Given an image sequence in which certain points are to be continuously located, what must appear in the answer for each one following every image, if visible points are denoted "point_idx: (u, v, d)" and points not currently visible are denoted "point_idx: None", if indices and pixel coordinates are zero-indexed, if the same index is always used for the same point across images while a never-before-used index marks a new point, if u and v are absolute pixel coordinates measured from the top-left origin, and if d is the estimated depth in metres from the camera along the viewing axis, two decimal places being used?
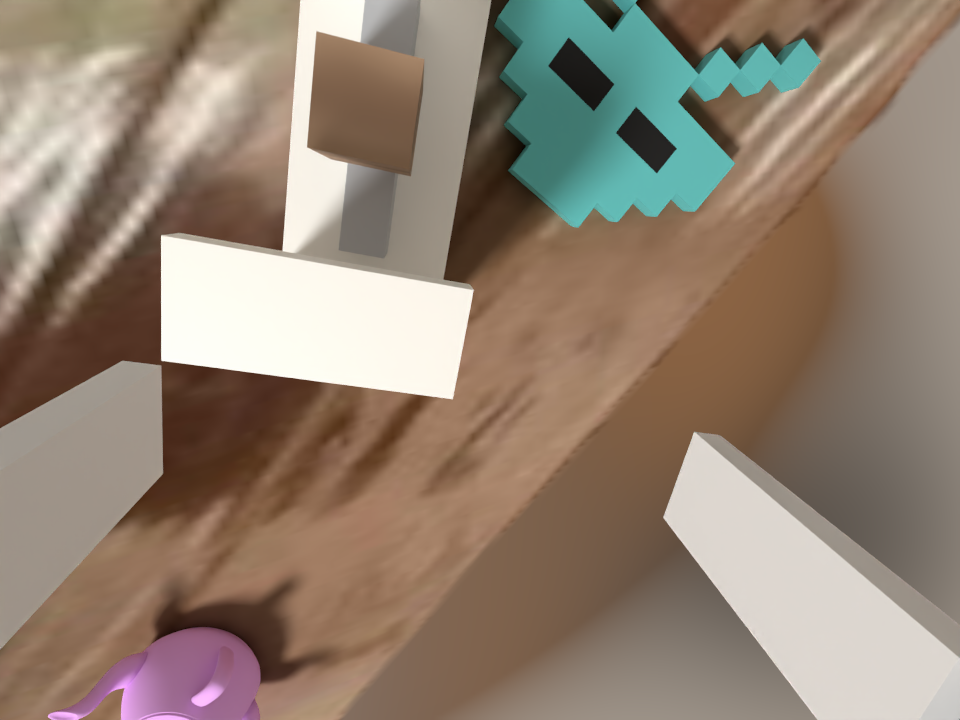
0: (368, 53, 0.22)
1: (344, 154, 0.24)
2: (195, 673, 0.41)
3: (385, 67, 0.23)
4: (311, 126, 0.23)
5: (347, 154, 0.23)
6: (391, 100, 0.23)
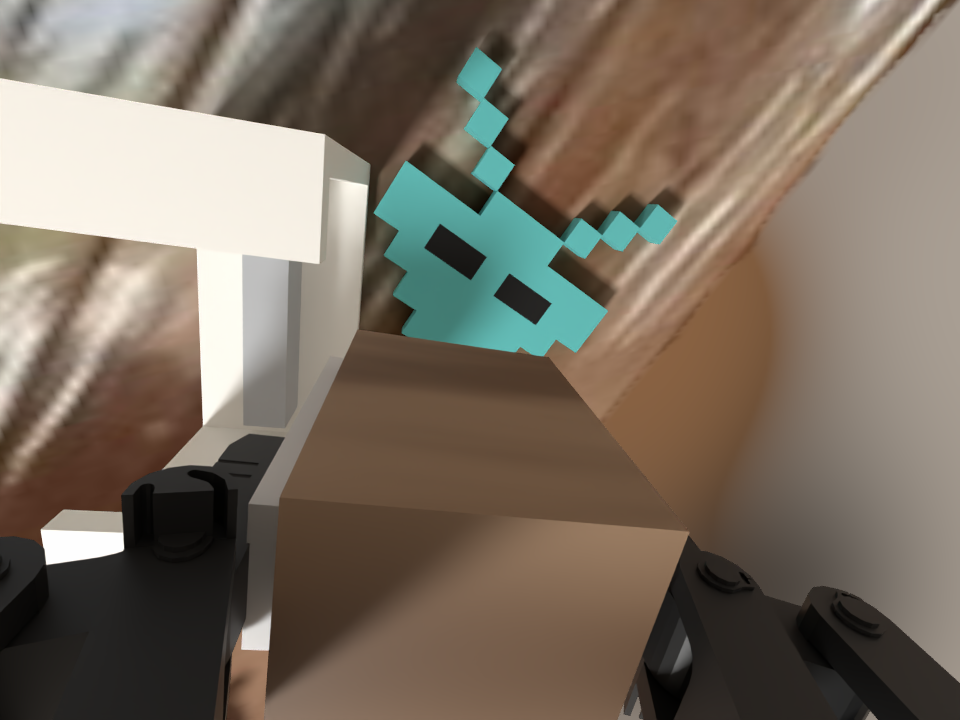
0: (487, 540, 0.06)
1: None
2: None
3: (547, 570, 0.06)
4: None
5: None
6: (557, 651, 0.06)
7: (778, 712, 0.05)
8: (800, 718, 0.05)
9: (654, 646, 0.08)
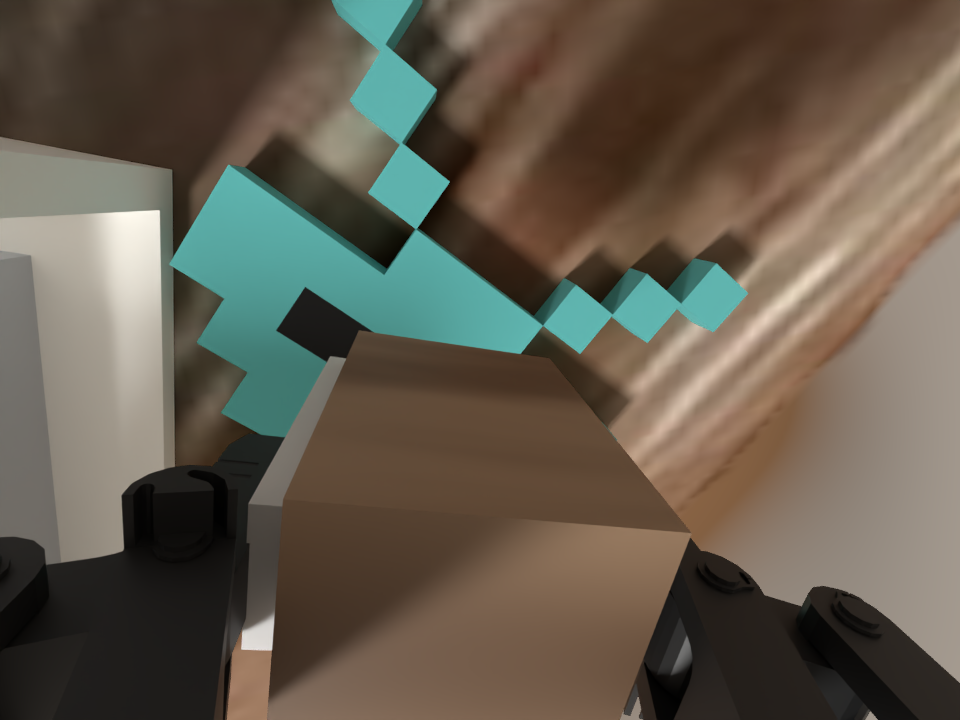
0: (489, 541, 0.06)
1: None
2: None
3: (549, 571, 0.06)
4: None
5: None
6: (559, 652, 0.06)
7: (778, 712, 0.05)
8: (800, 718, 0.05)
9: (654, 646, 0.08)
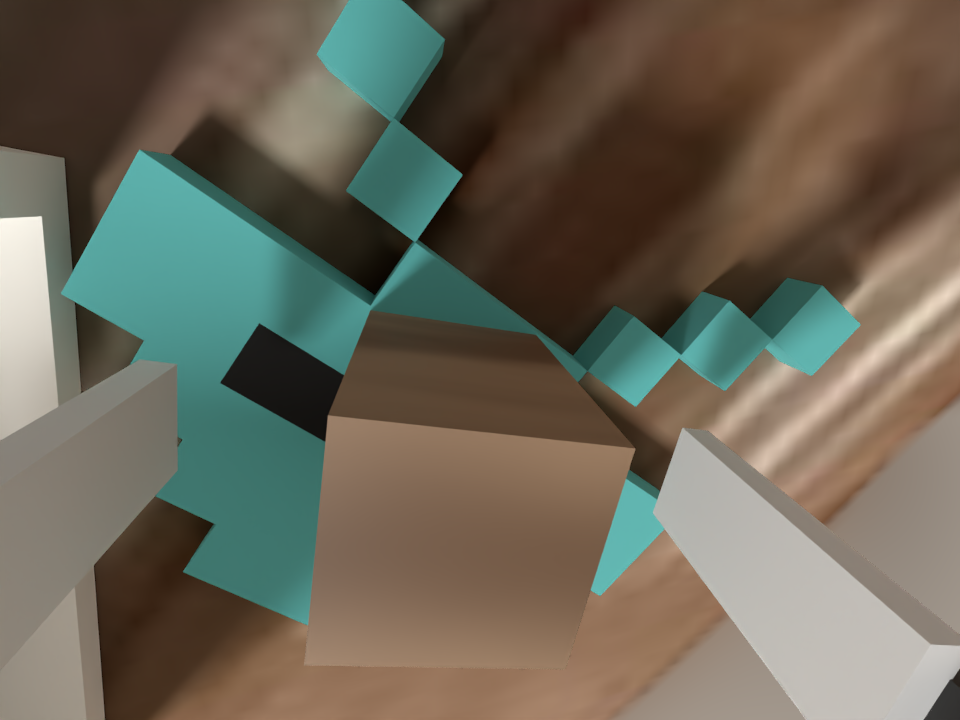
0: (480, 452, 0.08)
1: (403, 662, 0.09)
2: None
3: (526, 477, 0.08)
4: (316, 624, 0.08)
5: (413, 663, 0.09)
6: (536, 546, 0.08)
7: None
8: None
9: None
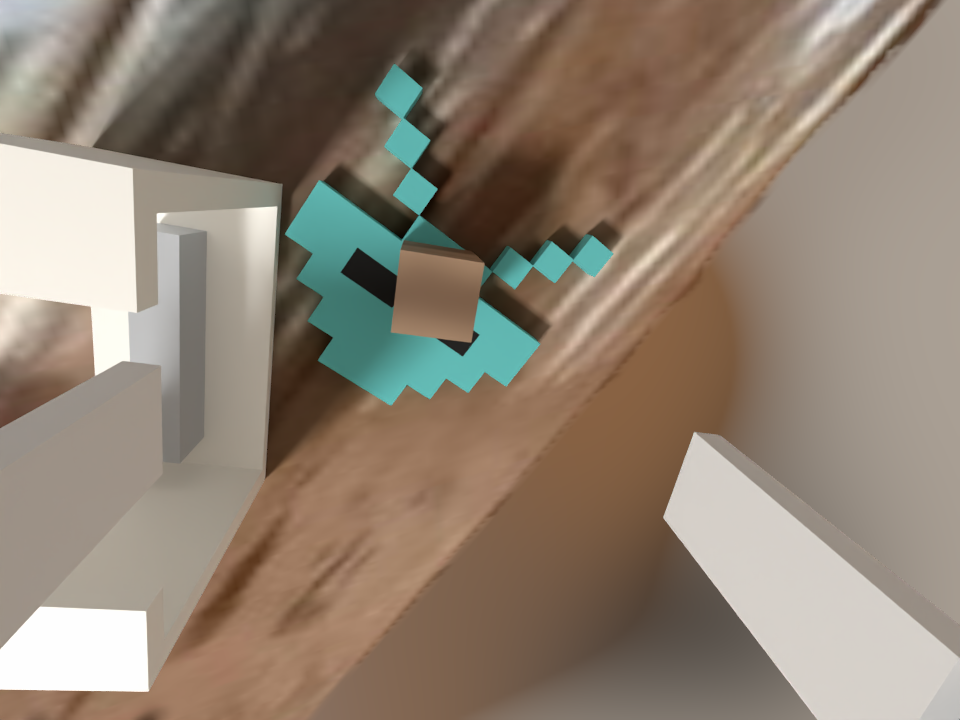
0: (440, 262, 0.28)
1: (420, 335, 0.29)
2: None
3: (453, 271, 0.28)
4: (394, 317, 0.29)
5: (423, 335, 0.29)
6: (458, 294, 0.29)
7: None
8: None
9: None
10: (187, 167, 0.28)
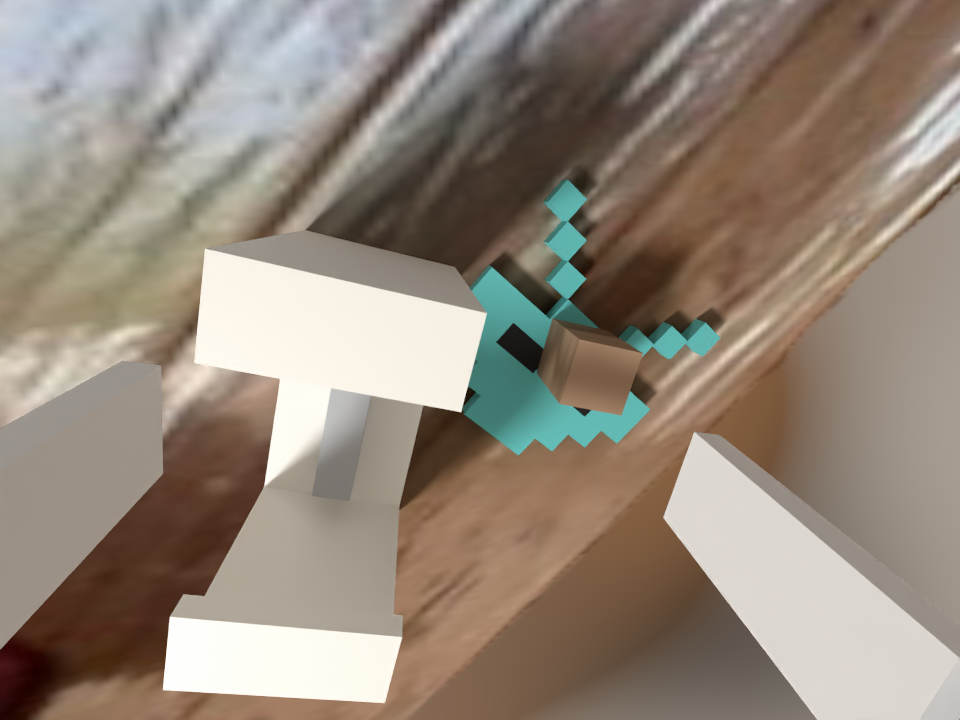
0: (609, 350, 0.34)
1: (582, 407, 0.35)
2: None
3: (618, 358, 0.34)
4: (565, 392, 0.34)
5: (584, 407, 0.35)
6: (618, 376, 0.35)
7: None
8: None
9: None
10: (401, 259, 0.34)
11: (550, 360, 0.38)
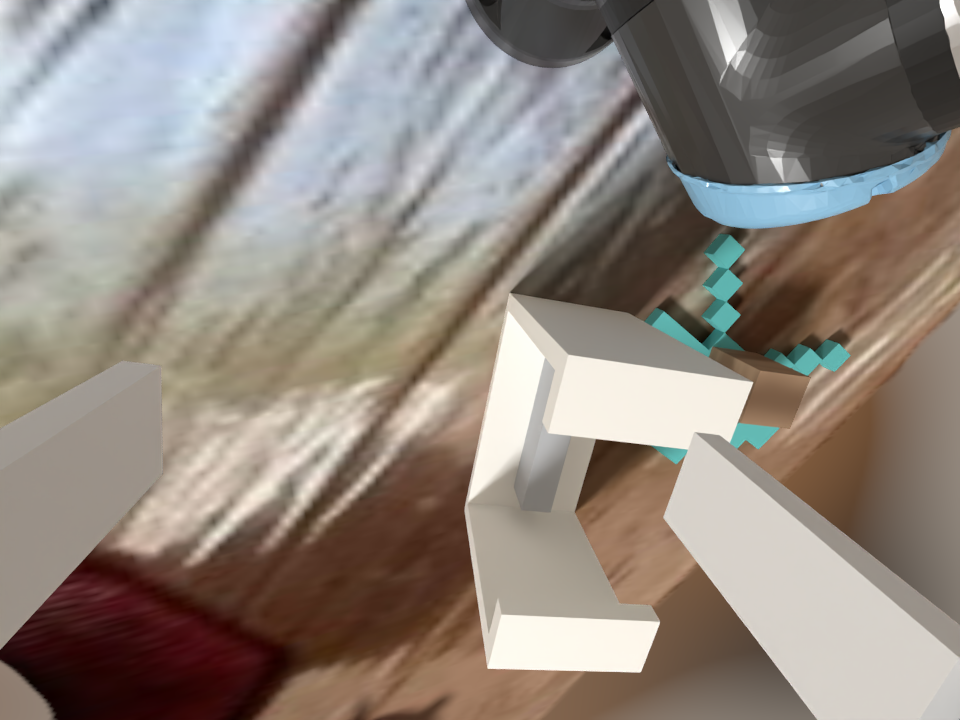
0: (783, 377, 0.41)
1: (758, 424, 0.42)
2: None
3: (790, 383, 0.41)
4: (745, 413, 0.42)
5: (760, 424, 0.42)
6: (789, 397, 0.42)
7: None
8: None
9: None
10: (602, 316, 0.41)
11: None
